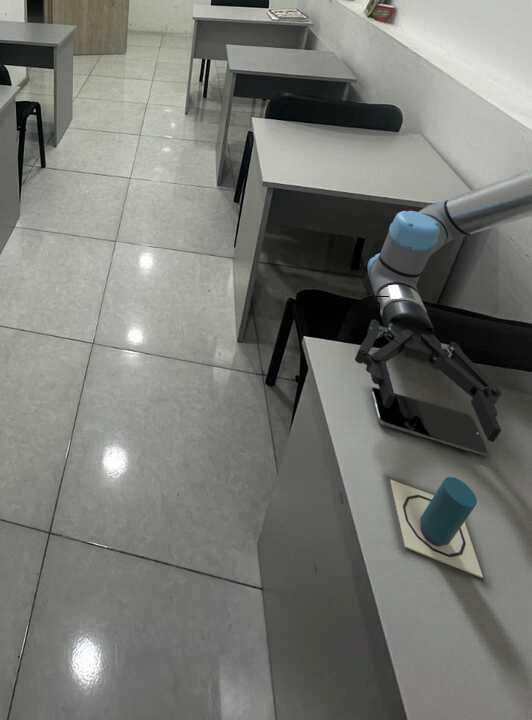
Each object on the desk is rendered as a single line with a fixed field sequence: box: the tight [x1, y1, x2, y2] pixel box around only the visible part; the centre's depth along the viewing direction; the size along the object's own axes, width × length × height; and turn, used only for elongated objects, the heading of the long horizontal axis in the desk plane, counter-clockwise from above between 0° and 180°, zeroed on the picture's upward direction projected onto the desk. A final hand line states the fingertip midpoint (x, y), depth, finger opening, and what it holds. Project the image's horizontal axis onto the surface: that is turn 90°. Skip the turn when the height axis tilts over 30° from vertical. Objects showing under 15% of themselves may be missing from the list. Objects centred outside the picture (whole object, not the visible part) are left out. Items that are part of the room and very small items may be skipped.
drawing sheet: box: [389, 479, 484, 579], centre depth 68 cm, size 9×9×1 cm
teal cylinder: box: [420, 476, 478, 546], centre depth 65 cm, size 4×4×10 cm
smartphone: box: [370, 386, 490, 457], centre depth 82 cm, size 7×1×16 cm
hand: (440, 418), depth 71 cm, fingers open, 13 cm apart
